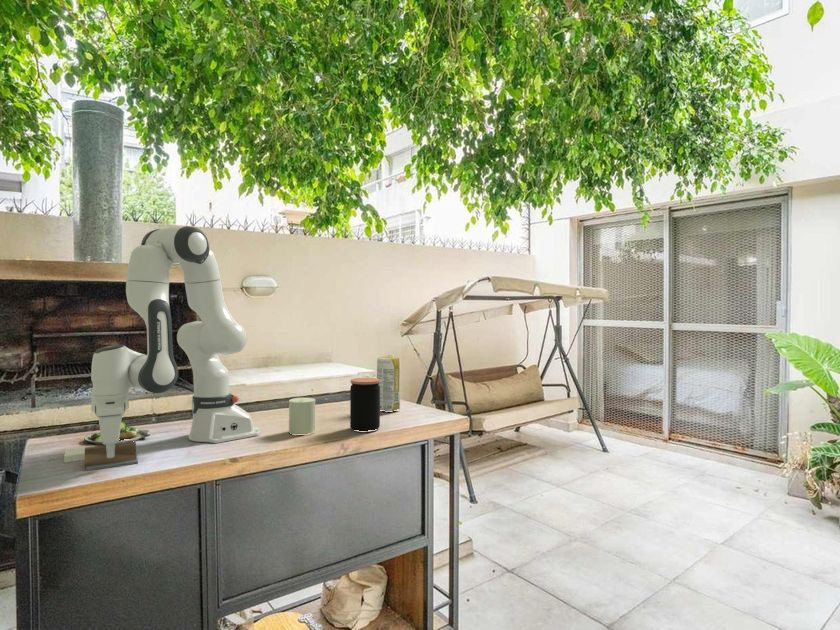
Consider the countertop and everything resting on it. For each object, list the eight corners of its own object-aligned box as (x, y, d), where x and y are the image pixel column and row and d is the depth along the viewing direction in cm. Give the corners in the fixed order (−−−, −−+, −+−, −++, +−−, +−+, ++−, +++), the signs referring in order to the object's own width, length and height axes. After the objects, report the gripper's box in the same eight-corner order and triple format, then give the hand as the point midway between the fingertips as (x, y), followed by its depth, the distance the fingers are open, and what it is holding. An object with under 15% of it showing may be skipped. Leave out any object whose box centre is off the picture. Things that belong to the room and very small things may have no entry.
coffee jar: (371, 424, 186) (371, 376, 185) (385, 430, 177) (385, 380, 176) (345, 428, 180) (345, 378, 180) (358, 434, 171) (358, 382, 171)
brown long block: (85, 463, 136) (85, 447, 136) (135, 456, 142) (135, 441, 142) (84, 466, 133) (84, 450, 133) (135, 459, 140) (135, 443, 140)
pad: (136, 456, 144) (136, 454, 144) (137, 463, 138) (137, 461, 138) (87, 463, 138) (87, 461, 138) (86, 470, 132) (86, 468, 132)
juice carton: (402, 410, 210) (403, 354, 209) (390, 414, 204) (390, 356, 203) (386, 407, 215) (386, 353, 215) (373, 410, 209) (374, 354, 209)
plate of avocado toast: (167, 434, 171) (167, 421, 170) (125, 449, 153) (125, 434, 153) (120, 430, 175) (120, 418, 175) (75, 444, 158) (74, 430, 157)
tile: (94, 459, 142) (94, 452, 149) (94, 452, 142) (94, 445, 149) (64, 463, 139) (65, 456, 145) (64, 456, 139) (65, 449, 145)
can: (287, 436, 168) (287, 401, 167) (289, 429, 177) (289, 396, 176) (315, 435, 170) (315, 400, 169) (315, 428, 179) (315, 395, 178)
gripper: (97, 398, 145) (97, 445, 145) (95, 411, 127) (96, 464, 127) (122, 396, 148) (123, 442, 148) (124, 408, 131) (124, 460, 131)
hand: (110, 452), depth 138 cm, fingers open, 8 cm apart
